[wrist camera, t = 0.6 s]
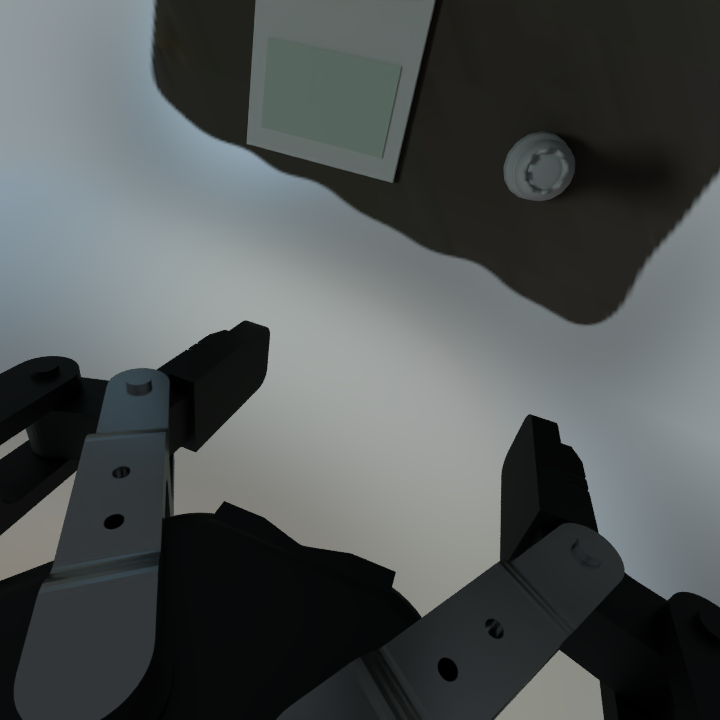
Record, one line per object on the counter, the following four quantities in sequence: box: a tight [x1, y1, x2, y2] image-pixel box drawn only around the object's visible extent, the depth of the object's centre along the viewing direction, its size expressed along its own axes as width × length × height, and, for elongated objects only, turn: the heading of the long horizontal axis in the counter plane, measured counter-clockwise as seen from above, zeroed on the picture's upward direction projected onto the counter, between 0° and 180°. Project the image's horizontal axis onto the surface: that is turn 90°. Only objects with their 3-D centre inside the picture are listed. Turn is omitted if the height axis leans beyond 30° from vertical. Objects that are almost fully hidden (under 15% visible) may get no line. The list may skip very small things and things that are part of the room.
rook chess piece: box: [504, 131, 575, 201], centre depth 27 cm, size 4×4×8 cm
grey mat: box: [247, 0, 436, 183], centre depth 29 cm, size 21×13×1 cm, turn 167°
